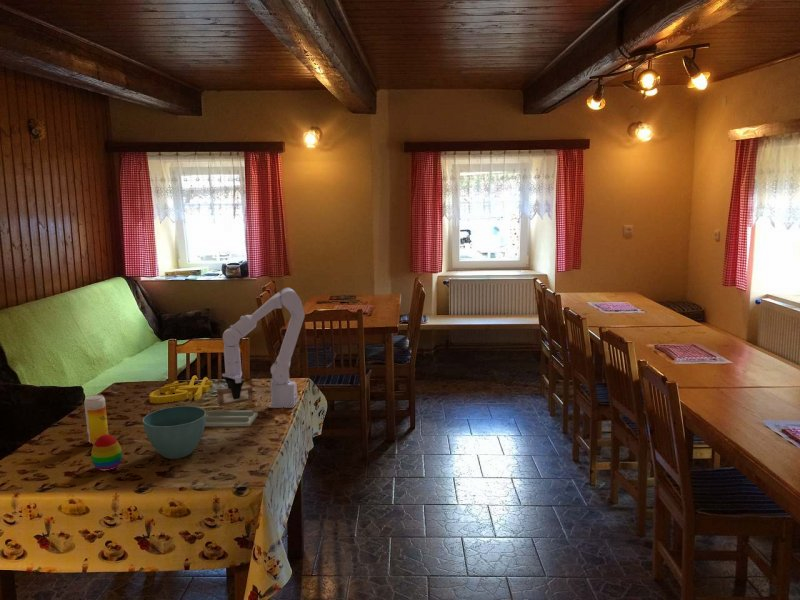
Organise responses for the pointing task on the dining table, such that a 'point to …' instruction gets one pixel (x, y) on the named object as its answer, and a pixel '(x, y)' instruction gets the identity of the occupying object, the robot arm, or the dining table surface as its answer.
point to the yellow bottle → (95, 417)
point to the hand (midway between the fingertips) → (235, 397)
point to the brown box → (226, 396)
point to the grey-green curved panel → (230, 418)
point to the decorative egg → (106, 452)
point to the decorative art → (181, 391)
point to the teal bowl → (175, 430)
